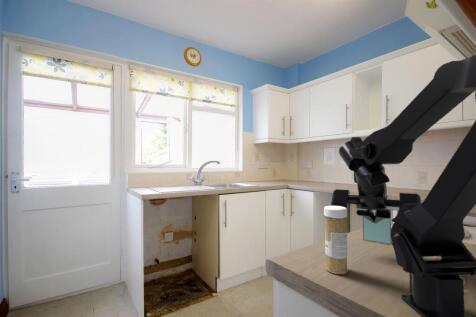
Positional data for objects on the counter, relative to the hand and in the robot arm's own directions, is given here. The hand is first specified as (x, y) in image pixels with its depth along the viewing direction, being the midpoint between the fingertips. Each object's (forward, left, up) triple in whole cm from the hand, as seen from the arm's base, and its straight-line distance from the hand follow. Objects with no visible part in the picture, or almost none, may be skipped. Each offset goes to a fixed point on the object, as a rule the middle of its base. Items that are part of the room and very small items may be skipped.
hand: (374, 221), depth 62 cm
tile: (+5, -3, -7) cm, 10 cm away
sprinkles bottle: (-13, +15, -7) cm, 21 cm away
